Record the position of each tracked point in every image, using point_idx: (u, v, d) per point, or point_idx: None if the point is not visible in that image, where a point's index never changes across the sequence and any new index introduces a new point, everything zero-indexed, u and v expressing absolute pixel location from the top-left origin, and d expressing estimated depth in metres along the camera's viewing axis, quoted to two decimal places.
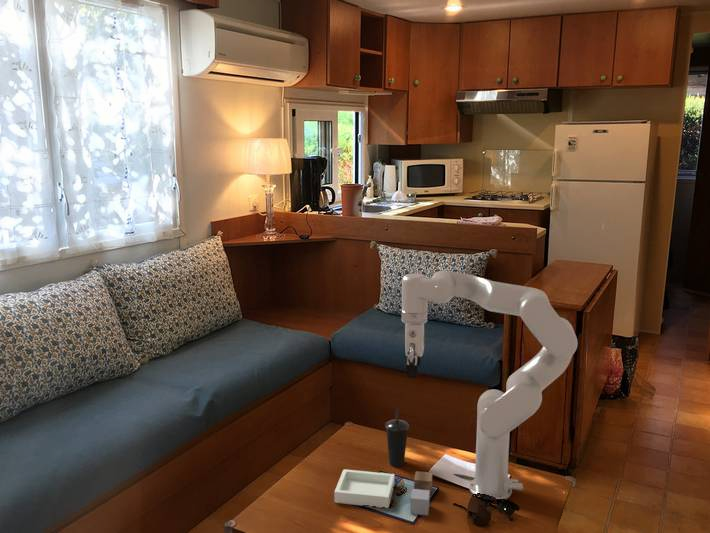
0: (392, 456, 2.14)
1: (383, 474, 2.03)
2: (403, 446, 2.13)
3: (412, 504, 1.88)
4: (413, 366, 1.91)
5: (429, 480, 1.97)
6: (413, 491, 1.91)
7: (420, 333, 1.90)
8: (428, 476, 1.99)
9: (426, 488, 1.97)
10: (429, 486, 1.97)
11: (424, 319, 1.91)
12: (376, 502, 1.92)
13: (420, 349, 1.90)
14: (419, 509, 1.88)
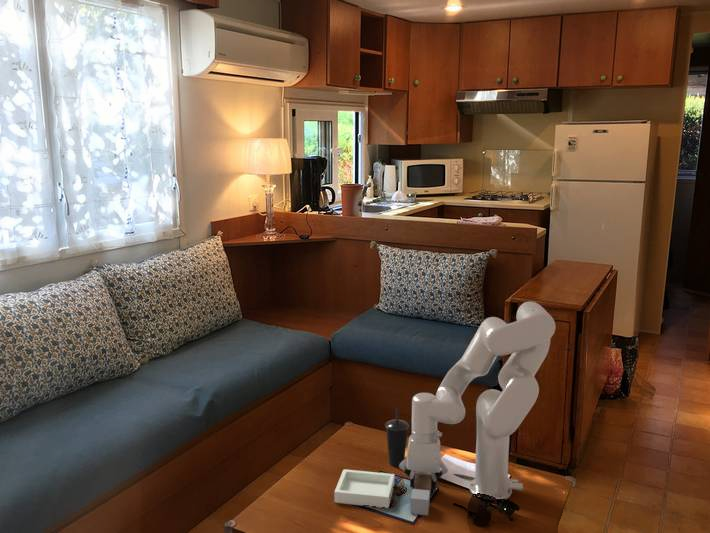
0: (392, 456, 2.14)
1: (383, 474, 2.03)
2: (403, 446, 2.13)
3: (412, 504, 1.88)
4: None
5: (429, 480, 1.97)
6: (413, 491, 1.91)
7: None
8: (428, 476, 1.99)
9: (426, 488, 1.97)
10: (429, 486, 1.97)
11: None
12: (376, 502, 1.92)
13: None
14: (419, 509, 1.88)
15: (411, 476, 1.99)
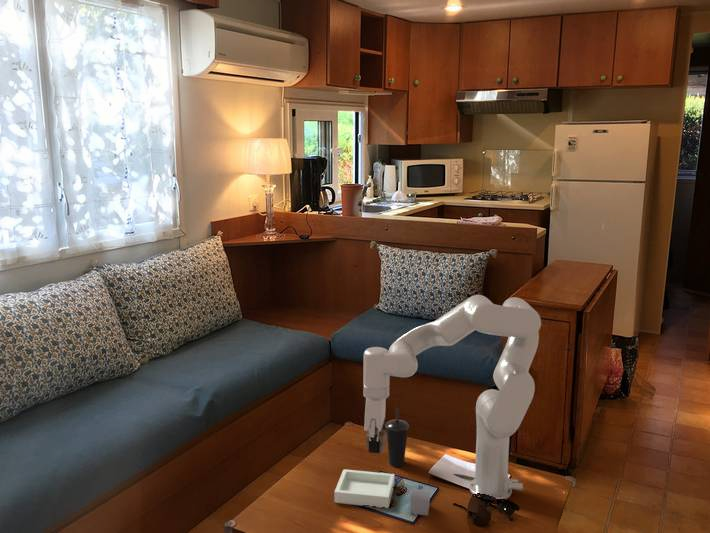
0: (392, 456, 2.14)
1: (383, 474, 2.03)
2: (403, 446, 2.13)
3: (412, 504, 1.88)
4: None
5: (383, 430, 1.96)
6: (413, 491, 1.91)
7: None
8: None
9: (384, 439, 1.96)
10: (385, 435, 1.96)
11: None
12: (376, 502, 1.92)
13: None
14: (419, 509, 1.88)
15: None
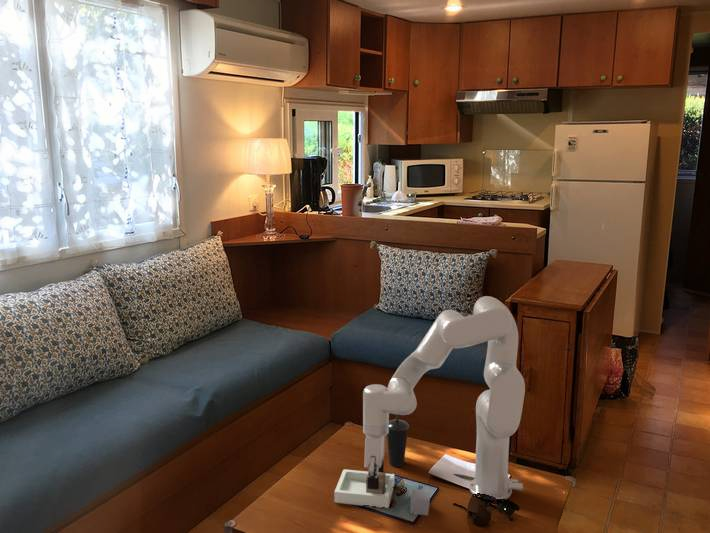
0: (392, 456, 2.14)
1: None
2: (403, 446, 2.13)
3: (412, 504, 1.88)
4: None
5: (383, 473, 1.99)
6: (413, 491, 1.91)
7: None
8: None
9: (384, 482, 1.99)
10: (385, 478, 1.99)
11: None
12: (376, 502, 1.92)
13: None
14: (419, 509, 1.88)
15: (377, 474, 1.91)
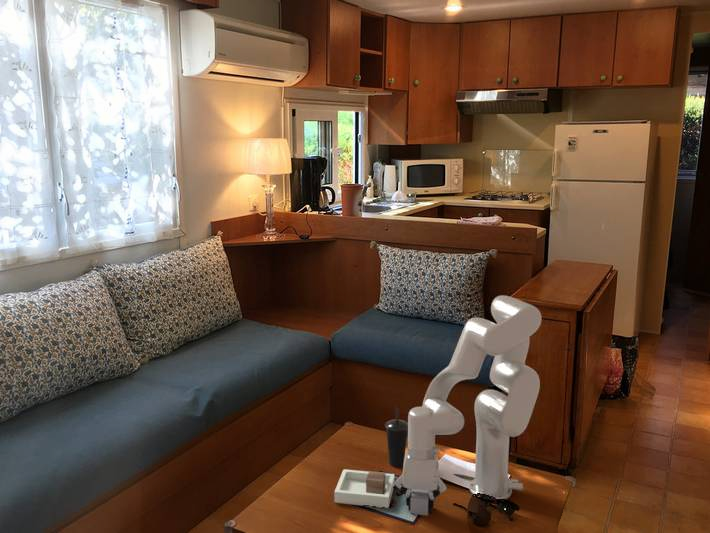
0: (392, 456, 2.14)
1: None
2: (403, 446, 2.13)
3: (412, 504, 1.88)
4: None
5: (383, 473, 1.99)
6: (413, 491, 1.91)
7: None
8: (376, 473, 1.99)
9: (384, 482, 1.99)
10: (385, 478, 1.99)
11: None
12: (376, 502, 1.92)
13: None
14: (418, 509, 1.88)
15: (407, 494, 1.89)
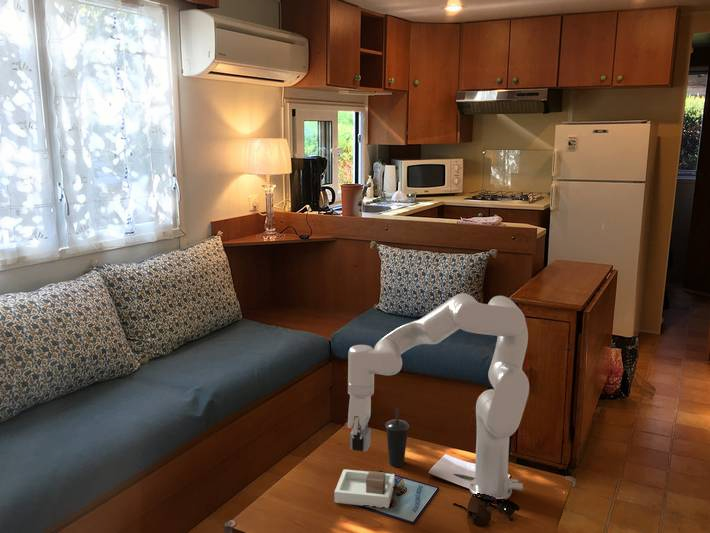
0: (392, 456, 2.14)
1: None
2: (403, 446, 2.13)
3: (367, 440, 1.92)
4: None
5: (383, 473, 1.99)
6: None
7: None
8: (376, 473, 1.99)
9: (384, 482, 1.99)
10: (385, 478, 1.99)
11: None
12: (376, 502, 1.92)
13: None
14: (368, 442, 1.95)
15: (361, 436, 1.91)
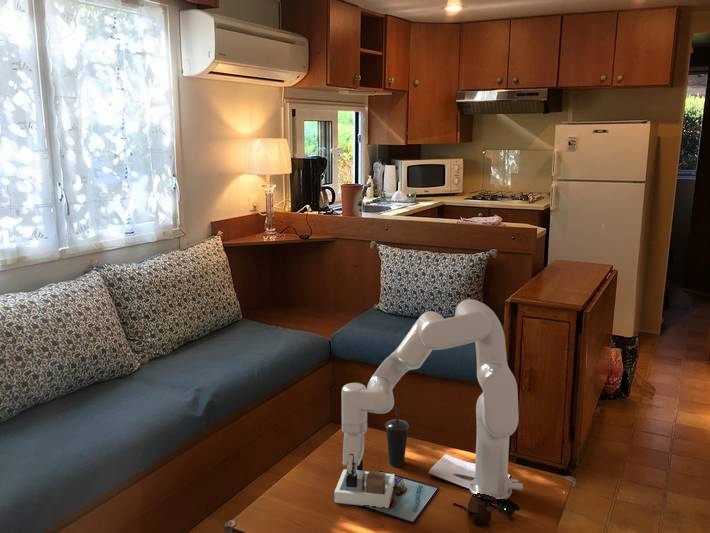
0: (392, 456, 2.14)
1: None
2: (403, 446, 2.13)
3: (362, 484, 1.97)
4: None
5: (383, 473, 1.99)
6: None
7: None
8: (376, 473, 1.99)
9: (384, 482, 1.99)
10: (385, 478, 1.99)
11: None
12: (376, 502, 1.92)
13: None
14: (363, 485, 1.99)
15: (355, 472, 1.93)
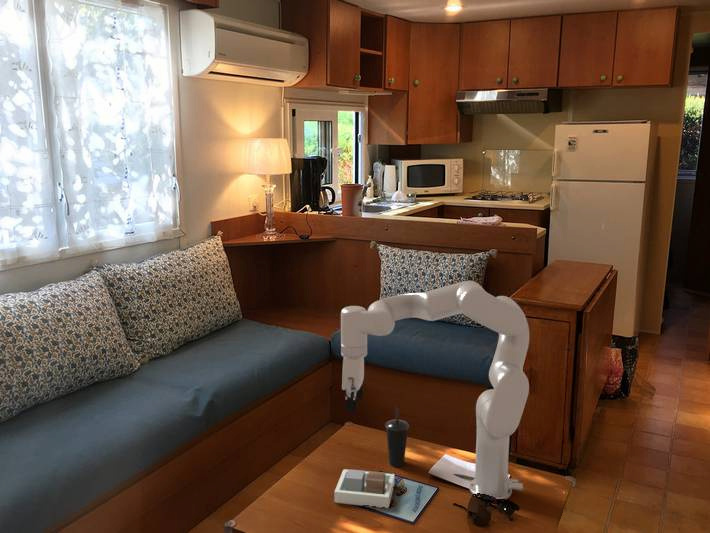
0: (392, 456, 2.14)
1: None
2: (403, 446, 2.13)
3: (362, 484, 1.97)
4: None
5: (383, 473, 1.99)
6: (350, 477, 1.97)
7: None
8: (376, 473, 1.99)
9: (384, 482, 1.99)
10: (385, 478, 1.99)
11: None
12: (376, 502, 1.92)
13: None
14: (363, 485, 1.99)
15: (354, 397, 1.87)
